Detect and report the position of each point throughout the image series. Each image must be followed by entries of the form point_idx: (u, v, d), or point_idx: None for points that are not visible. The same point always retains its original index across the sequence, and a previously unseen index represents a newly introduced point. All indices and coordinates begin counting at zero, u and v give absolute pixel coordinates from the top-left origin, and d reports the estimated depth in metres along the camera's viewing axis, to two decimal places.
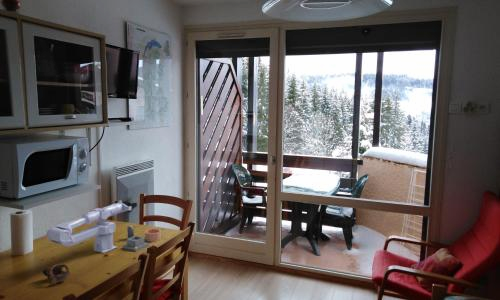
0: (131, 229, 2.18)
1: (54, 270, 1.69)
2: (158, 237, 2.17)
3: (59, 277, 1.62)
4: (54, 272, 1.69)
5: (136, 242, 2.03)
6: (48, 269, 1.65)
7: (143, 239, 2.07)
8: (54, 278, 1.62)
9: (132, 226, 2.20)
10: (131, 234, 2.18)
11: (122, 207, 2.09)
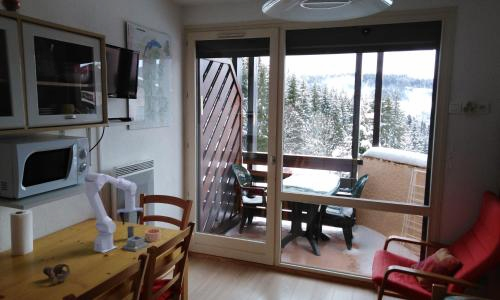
0: (131, 229, 2.18)
1: (55, 270, 1.69)
2: (158, 237, 2.17)
3: (60, 276, 1.63)
4: (55, 272, 1.70)
5: (136, 242, 2.03)
6: (49, 269, 1.66)
7: (143, 239, 2.07)
8: (55, 277, 1.62)
9: (132, 226, 2.20)
10: (131, 234, 2.18)
11: None
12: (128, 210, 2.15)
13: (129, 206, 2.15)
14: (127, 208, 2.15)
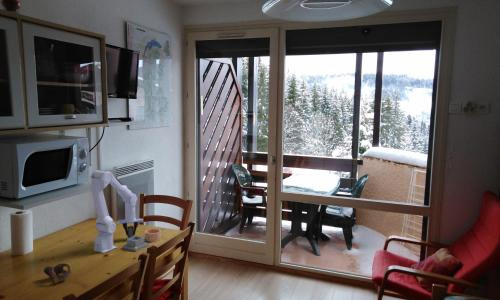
0: (131, 229, 2.18)
1: (55, 269, 1.70)
2: (158, 237, 2.17)
3: (61, 276, 1.63)
4: (55, 271, 1.70)
5: (136, 242, 2.03)
6: (50, 268, 1.66)
7: (143, 239, 2.07)
8: (56, 277, 1.63)
9: (132, 226, 2.20)
10: (131, 234, 2.18)
11: None
12: (128, 221, 2.16)
13: (129, 217, 2.15)
14: (127, 219, 2.16)
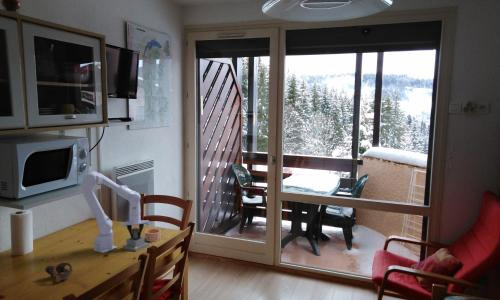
0: (136, 231, 2.05)
1: (57, 268, 1.71)
2: (158, 237, 2.17)
3: (63, 275, 1.64)
4: (57, 270, 1.71)
5: (136, 242, 2.03)
6: (51, 267, 1.67)
7: (143, 239, 2.07)
8: (58, 276, 1.64)
9: (137, 228, 2.07)
10: (136, 237, 2.05)
11: (140, 220, 2.07)
12: (133, 223, 2.03)
13: (134, 219, 2.03)
14: (132, 221, 2.03)
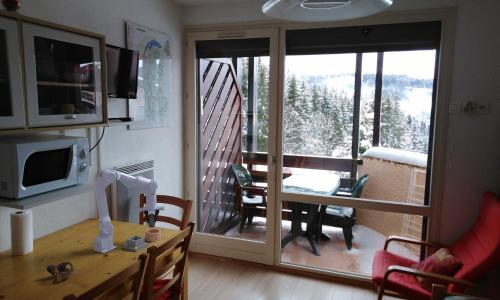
0: (152, 217, 2.16)
1: (58, 267, 1.71)
2: (158, 237, 2.17)
3: (64, 274, 1.65)
4: (58, 269, 1.72)
5: (136, 242, 2.03)
6: (53, 266, 1.68)
7: (143, 239, 2.07)
8: (59, 275, 1.65)
9: (153, 214, 2.17)
10: (152, 222, 2.16)
11: None
12: (150, 209, 2.13)
13: (151, 205, 2.13)
14: (148, 207, 2.13)
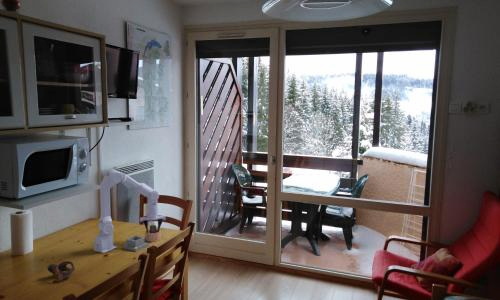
0: (154, 228, 2.17)
1: (59, 267, 1.72)
2: (158, 237, 2.17)
3: (65, 273, 1.66)
4: (59, 269, 1.72)
5: (136, 242, 2.03)
6: (54, 266, 1.68)
7: (143, 239, 2.07)
8: (60, 274, 1.66)
9: (154, 225, 2.19)
10: None
11: None
12: (151, 218, 2.15)
13: (152, 214, 2.15)
14: (150, 216, 2.15)
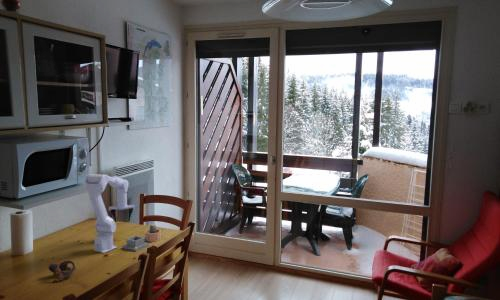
0: (154, 228, 2.17)
1: (60, 266, 1.73)
2: (158, 237, 2.17)
3: (66, 273, 1.67)
4: (60, 268, 1.73)
5: (136, 242, 2.03)
6: (55, 265, 1.69)
7: (143, 239, 2.07)
8: (61, 274, 1.66)
9: (154, 225, 2.19)
10: None
11: None
12: (120, 207, 2.16)
13: (121, 203, 2.15)
14: (119, 205, 2.16)
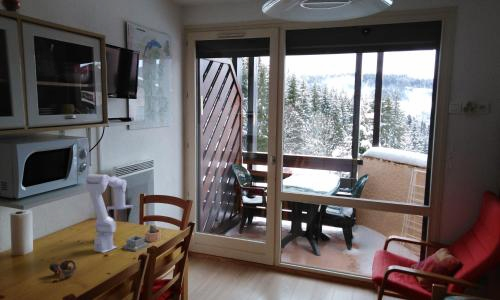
0: (154, 228, 2.17)
1: (61, 266, 1.73)
2: (158, 237, 2.17)
3: (67, 272, 1.67)
4: (60, 268, 1.74)
5: (136, 242, 2.03)
6: (55, 265, 1.70)
7: (143, 239, 2.07)
8: (62, 273, 1.67)
9: (154, 225, 2.19)
10: None
11: None
12: (118, 207, 2.16)
13: (119, 203, 2.15)
14: (117, 205, 2.16)
